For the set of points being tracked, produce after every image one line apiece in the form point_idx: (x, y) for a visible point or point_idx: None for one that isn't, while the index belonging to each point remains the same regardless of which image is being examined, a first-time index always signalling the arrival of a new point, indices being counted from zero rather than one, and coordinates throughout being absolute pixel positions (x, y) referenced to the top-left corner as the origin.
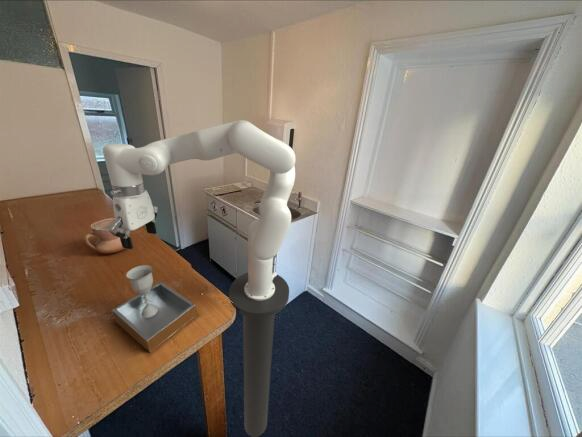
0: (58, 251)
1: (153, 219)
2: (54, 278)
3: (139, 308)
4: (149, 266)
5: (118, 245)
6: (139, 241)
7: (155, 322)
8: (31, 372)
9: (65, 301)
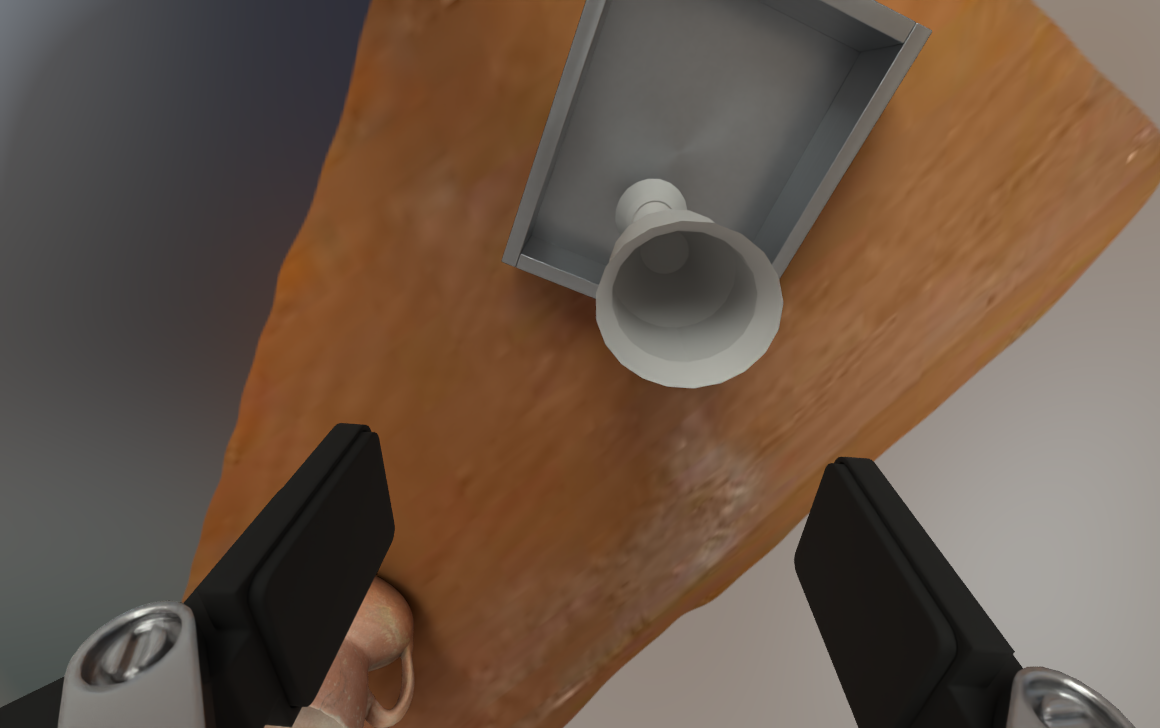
0: (456, 704)
1: (113, 708)
2: (568, 630)
3: None
4: (601, 287)
5: None
6: None
7: (710, 140)
8: (932, 411)
9: (654, 537)
